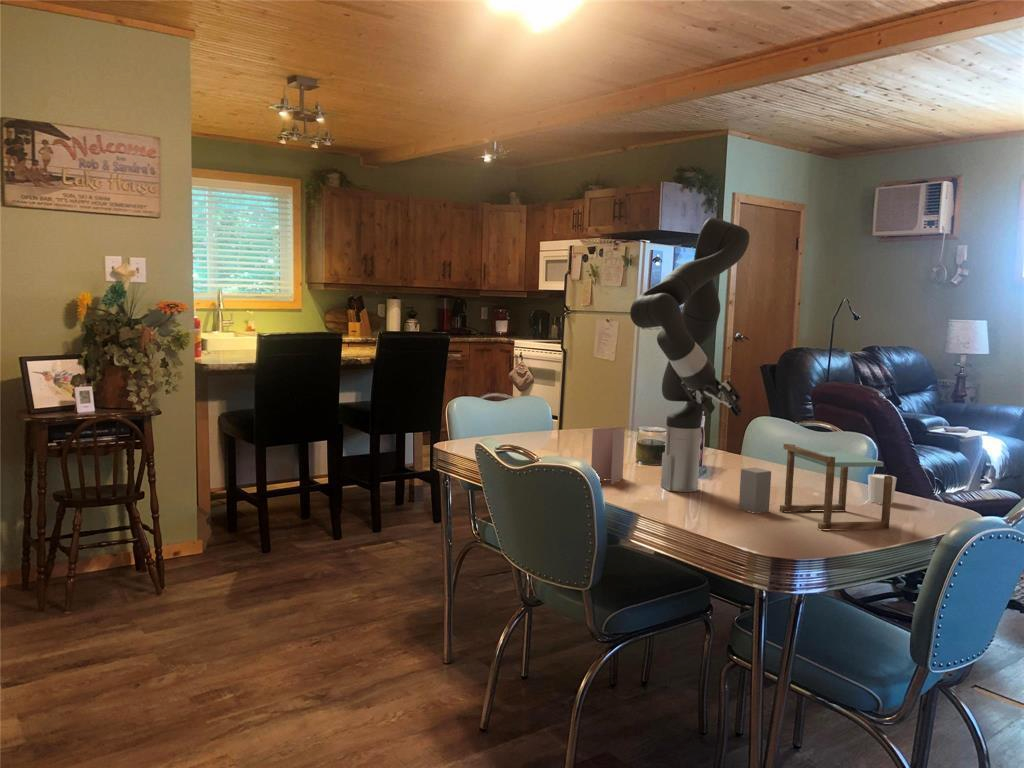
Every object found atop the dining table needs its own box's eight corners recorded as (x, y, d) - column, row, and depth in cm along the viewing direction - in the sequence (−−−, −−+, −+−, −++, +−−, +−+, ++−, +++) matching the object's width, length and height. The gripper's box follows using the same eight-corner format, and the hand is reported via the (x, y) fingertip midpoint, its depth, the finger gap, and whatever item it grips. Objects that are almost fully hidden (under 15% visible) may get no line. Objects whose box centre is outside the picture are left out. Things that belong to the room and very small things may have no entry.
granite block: (754, 513, 186) (756, 472, 185) (738, 509, 190) (741, 468, 189) (768, 511, 189) (771, 471, 188) (753, 507, 193) (755, 467, 192)
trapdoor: (827, 466, 173) (827, 462, 173) (793, 455, 187) (793, 451, 187) (883, 466, 176) (883, 462, 176) (846, 455, 189) (846, 451, 189)
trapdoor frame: (820, 530, 172) (825, 456, 171) (779, 510, 189) (783, 443, 188) (888, 529, 175) (894, 456, 174) (842, 509, 192) (846, 443, 191)
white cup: (900, 505, 200) (902, 478, 199) (877, 505, 198) (879, 478, 198) (883, 499, 206) (884, 473, 206) (860, 499, 205) (862, 473, 205)
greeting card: (620, 477, 224) (622, 426, 223) (637, 482, 218) (639, 430, 217) (588, 481, 218) (590, 428, 217) (605, 486, 212) (607, 432, 211)
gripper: (723, 353, 170) (757, 404, 177) (678, 351, 182) (711, 398, 189) (704, 378, 168) (739, 428, 174) (660, 373, 180) (694, 420, 186)
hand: (725, 412), depth 182 cm, fingers open, 8 cm apart
